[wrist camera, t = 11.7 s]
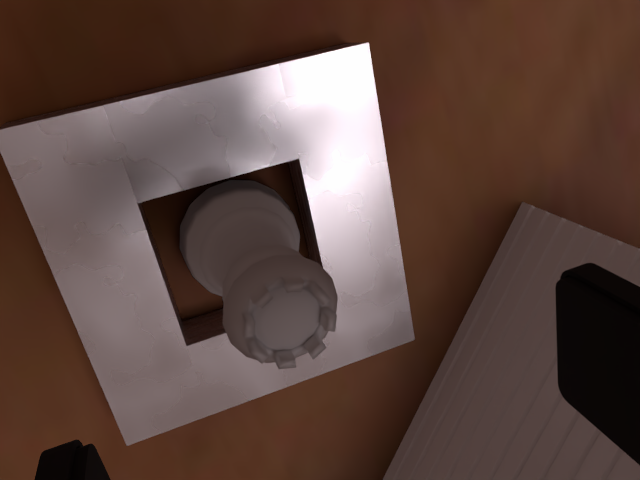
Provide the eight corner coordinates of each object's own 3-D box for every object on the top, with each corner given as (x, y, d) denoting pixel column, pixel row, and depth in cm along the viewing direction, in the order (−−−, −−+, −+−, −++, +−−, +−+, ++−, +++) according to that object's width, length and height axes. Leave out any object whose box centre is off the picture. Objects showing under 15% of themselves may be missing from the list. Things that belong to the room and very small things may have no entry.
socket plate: (5, 123, 18) (-9, 131, 16) (347, 42, 21) (368, 42, 19) (126, 413, 23) (126, 445, 21) (394, 318, 25) (414, 339, 23)
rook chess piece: (275, 293, 23) (343, 406, 16) (166, 277, 21) (185, 395, 14) (305, 190, 22) (392, 260, 15) (192, 164, 20) (228, 228, 13)
